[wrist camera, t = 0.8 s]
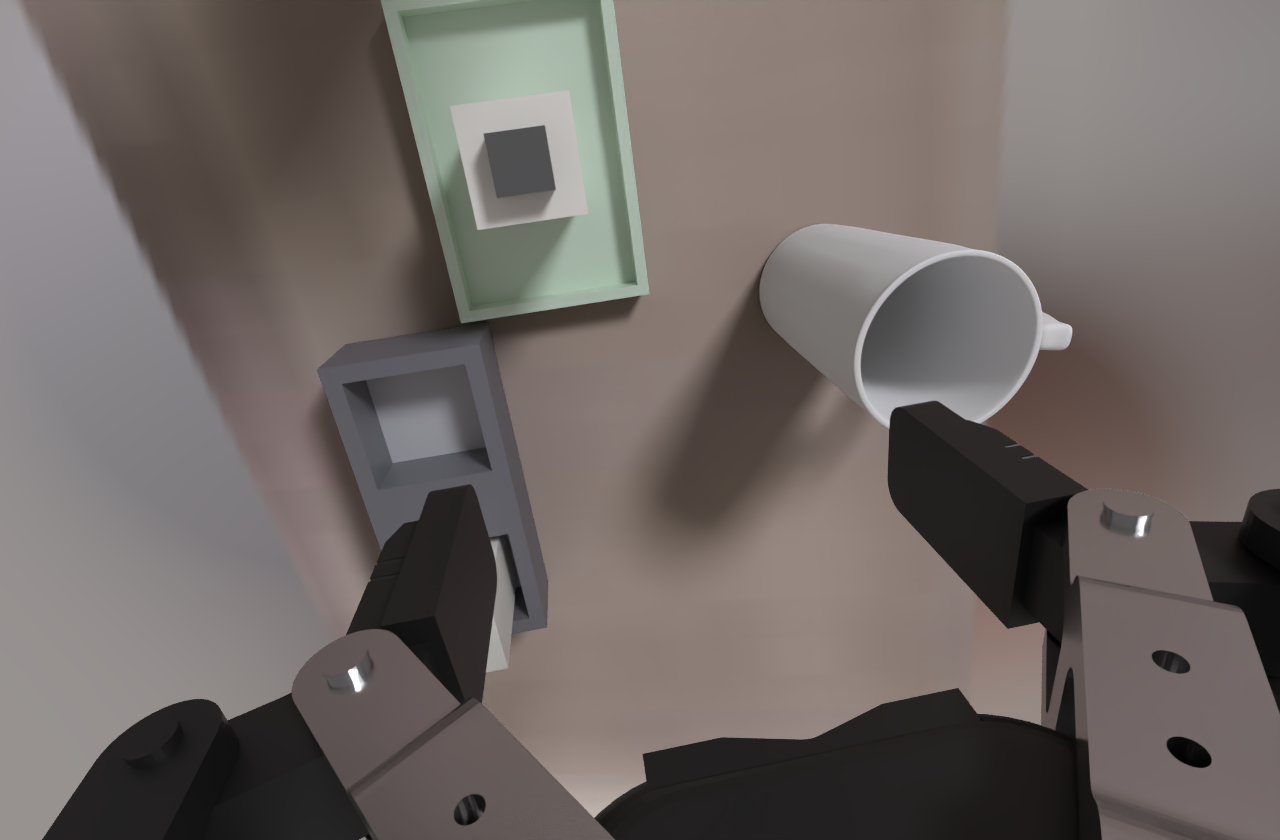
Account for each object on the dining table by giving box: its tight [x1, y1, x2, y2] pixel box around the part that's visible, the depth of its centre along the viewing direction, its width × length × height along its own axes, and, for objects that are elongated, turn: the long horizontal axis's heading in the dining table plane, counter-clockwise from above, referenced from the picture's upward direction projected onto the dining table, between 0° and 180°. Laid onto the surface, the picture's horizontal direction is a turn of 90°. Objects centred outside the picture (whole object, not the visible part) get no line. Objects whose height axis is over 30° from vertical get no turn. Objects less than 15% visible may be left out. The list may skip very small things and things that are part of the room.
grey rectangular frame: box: [317, 322, 548, 634], centre depth 32 cm, size 16×7×4 cm, turn 8°
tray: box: [381, 0, 649, 323], centre depth 28 cm, size 13×9×2 cm
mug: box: [759, 224, 1072, 429], centre depth 27 cm, size 10×7×12 cm, turn 89°
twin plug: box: [486, 534, 517, 673], centre depth 31 cm, size 4×4×8 cm
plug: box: [450, 90, 588, 230], centre depth 24 cm, size 4×4×8 cm
